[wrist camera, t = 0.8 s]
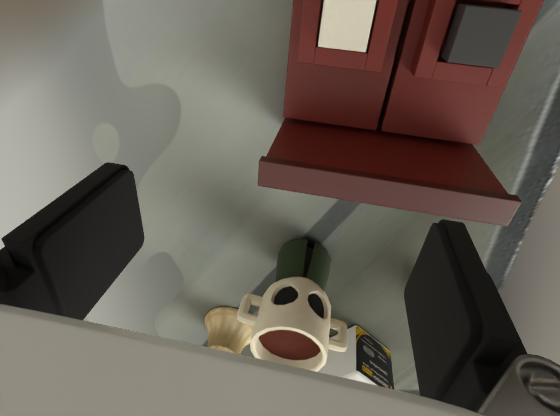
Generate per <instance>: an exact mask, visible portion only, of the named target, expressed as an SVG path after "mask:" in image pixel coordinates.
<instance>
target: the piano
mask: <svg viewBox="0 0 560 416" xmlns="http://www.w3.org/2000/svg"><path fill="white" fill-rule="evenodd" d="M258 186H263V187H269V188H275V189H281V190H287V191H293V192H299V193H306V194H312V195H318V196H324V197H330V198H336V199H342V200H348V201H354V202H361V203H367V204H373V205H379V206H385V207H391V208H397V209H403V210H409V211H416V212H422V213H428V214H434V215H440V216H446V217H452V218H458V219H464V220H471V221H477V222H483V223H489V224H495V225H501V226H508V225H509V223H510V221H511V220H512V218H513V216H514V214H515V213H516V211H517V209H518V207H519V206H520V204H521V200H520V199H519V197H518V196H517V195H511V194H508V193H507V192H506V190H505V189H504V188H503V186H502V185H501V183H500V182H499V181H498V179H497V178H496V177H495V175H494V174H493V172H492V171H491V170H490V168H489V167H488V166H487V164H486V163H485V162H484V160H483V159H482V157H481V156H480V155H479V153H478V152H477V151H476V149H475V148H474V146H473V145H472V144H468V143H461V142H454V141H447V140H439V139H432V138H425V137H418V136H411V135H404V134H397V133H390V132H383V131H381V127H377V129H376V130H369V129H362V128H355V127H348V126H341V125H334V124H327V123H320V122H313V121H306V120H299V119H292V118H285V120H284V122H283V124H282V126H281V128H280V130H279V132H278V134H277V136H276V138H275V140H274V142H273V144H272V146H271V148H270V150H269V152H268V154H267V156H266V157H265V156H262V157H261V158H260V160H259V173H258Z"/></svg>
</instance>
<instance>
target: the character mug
mask: <svg viewBox="0 0 560 416" xmlns="http://www.w3.org/2000/svg"><path fill="white" fill-rule="evenodd" d="M330 261H331V258H330V256H329V254H328V252H327V250H326V249H325V248H324V247H322V246H321V245H320V244H319V243H316V242H315V245H314V249H311V248H307V240H306V239H299V240H292V241H290V242H289V243H287V244H285V245H284V246H283V247H282V249H281V250H280V252H279V254H278V260H277V272H276V282H275V283H273V284H272V285H271V286H270V287H269V288H268V289H267V291H266V292H265V293H264V295H263V297H260V296H257V295H253V294H245V295H244V297H243V298H242V301H241V304H240V306H239V309H238V312H237V319H238V320H239V321H240V322H242V323H245V324H248V325H251V326H254V329H253V332H252V335H251V341H250V344H251V352H252V353H253V355H254V356H255V358H258V359H262V360H267V361H271V362H276V363H280V364H285V365H289V366H293V367H298V368H302V369H307V370H311V371H316V372H317V371H319V370H320V369H321V368H322V367H323V366H324V365H325V364H326V360H327V354H328V349H331V350H334V351H338V352H345V351H346V349H347V331H348V329H347V325H346V323H345V322H343V321H340V320H337V319H334V318H331V304H330V302H329V299H328V297H327V294H326V293H325V292H324V289H325V286H326V282H327V279H328V274H329V270H330ZM251 304H252V305H255V306H258V307H260V308H259V311H258V315H257V316H256V315H252V314H249V313H248V311H249V308H250V305H251ZM330 328H332V329H335V330H337V331H338V340H335V339H332V338H329V331H330Z"/></svg>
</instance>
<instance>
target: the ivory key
mask: <svg viewBox="0 0 560 416" xmlns="http://www.w3.org/2000/svg"><path fill="white" fill-rule="evenodd" d="M375 5H376V0H324V3H323V11H322V18H321V26H320V33H319V41H318V47H325V48H333V49H341V50H350V51H358V52H366V49H367V44H368V39H369V34H370V29H371V25H372V20H373V15H374V10H375Z"/></svg>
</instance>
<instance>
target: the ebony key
mask: <svg viewBox="0 0 560 416" xmlns="http://www.w3.org/2000/svg"><path fill="white" fill-rule="evenodd" d="M521 13H522V11H521V10H515V9H509V8H499V7H489V6H480V5H470V4H460V3H459V4H458V6H457V9H456V12H455V15H454V18H453V21H452V24H451V27H450V30H449V33H448V36H447V40H446V43H445V46H444V49H443V52H442V55H441V57H442V58H443V59H444V60H446V61H447V62H449V63H458V64H466V65H474V66H483V67H491V68H499V66H500V64H501V61H502V59H503V56H504V54H505V52H506V49H507V47H508V44H509V42H510V40H511V37H512V35H513V32H514V30H515V28H516V25H517V23H518V21H519V18H520V16H521Z"/></svg>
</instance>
